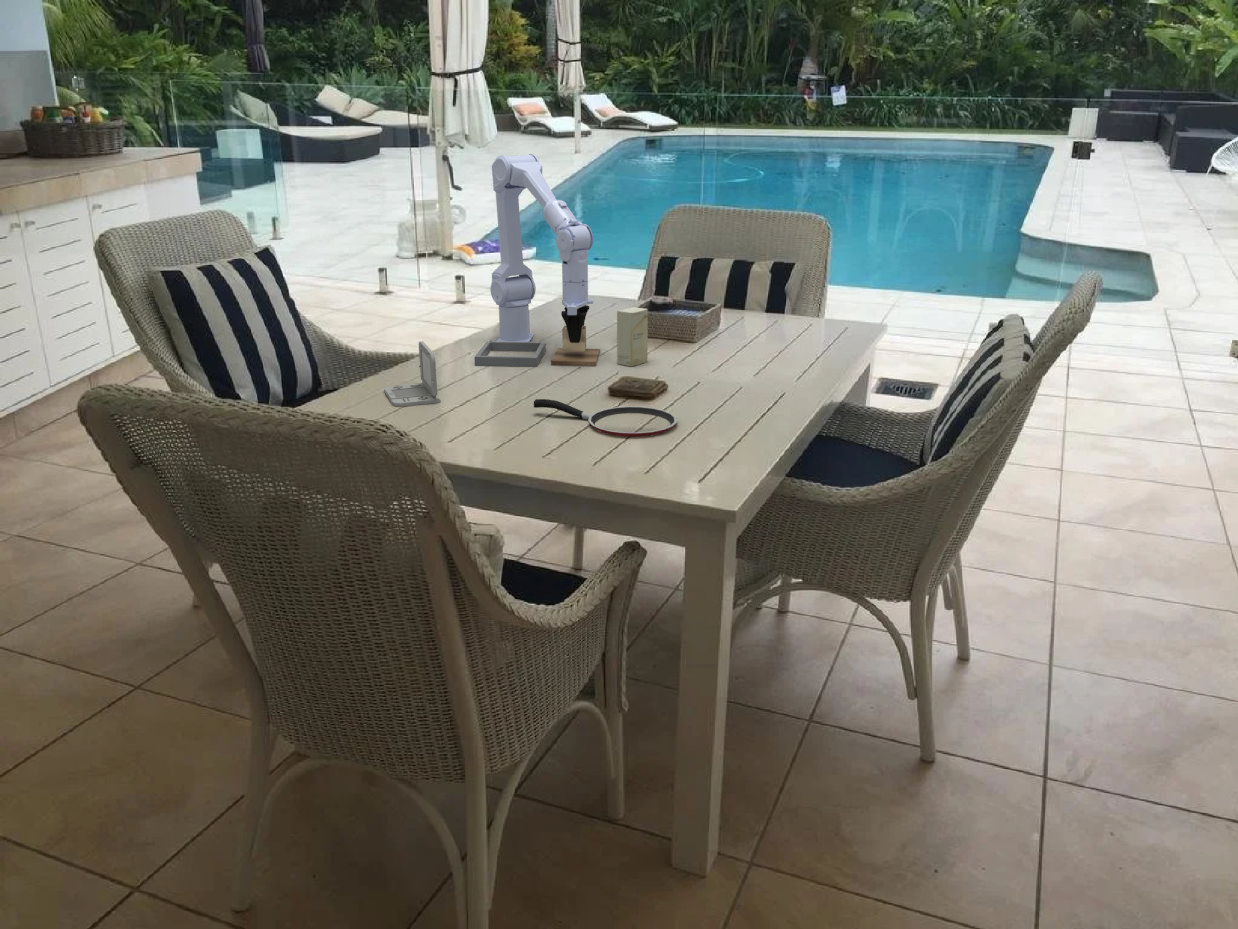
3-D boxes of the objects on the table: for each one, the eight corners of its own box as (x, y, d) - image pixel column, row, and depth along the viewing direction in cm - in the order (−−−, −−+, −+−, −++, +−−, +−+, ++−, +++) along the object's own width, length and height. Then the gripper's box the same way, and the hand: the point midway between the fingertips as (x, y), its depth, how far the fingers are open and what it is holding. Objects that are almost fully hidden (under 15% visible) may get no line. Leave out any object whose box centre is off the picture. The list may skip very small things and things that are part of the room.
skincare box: (631, 367, 235) (632, 313, 231) (615, 364, 237) (616, 310, 233) (648, 361, 240) (648, 308, 235) (632, 358, 242) (632, 306, 238)
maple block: (564, 346, 243) (564, 325, 241) (586, 347, 243) (586, 325, 241) (562, 351, 239) (562, 329, 237) (584, 351, 239) (584, 329, 237)
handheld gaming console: (383, 390, 217) (379, 343, 214) (427, 386, 220) (424, 339, 217) (394, 408, 206) (390, 358, 202) (440, 403, 209) (437, 354, 205)
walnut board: (557, 352, 248) (557, 348, 247) (600, 353, 247) (600, 348, 247) (551, 365, 236) (551, 360, 236) (595, 366, 236) (595, 361, 235)
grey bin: (487, 349, 250) (486, 341, 249) (545, 350, 249) (545, 342, 248) (474, 365, 236) (474, 356, 235) (536, 366, 235) (536, 357, 234)
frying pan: (516, 428, 194) (516, 411, 193) (550, 404, 209) (549, 387, 208) (662, 444, 186) (662, 426, 185) (686, 417, 201) (687, 400, 200)
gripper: (589, 286, 228) (590, 347, 233) (595, 275, 242) (596, 333, 247) (557, 286, 229) (558, 347, 233) (565, 274, 242) (566, 332, 247)
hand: (575, 340), depth 240 cm, fingers closed on maple block, 4 cm apart
